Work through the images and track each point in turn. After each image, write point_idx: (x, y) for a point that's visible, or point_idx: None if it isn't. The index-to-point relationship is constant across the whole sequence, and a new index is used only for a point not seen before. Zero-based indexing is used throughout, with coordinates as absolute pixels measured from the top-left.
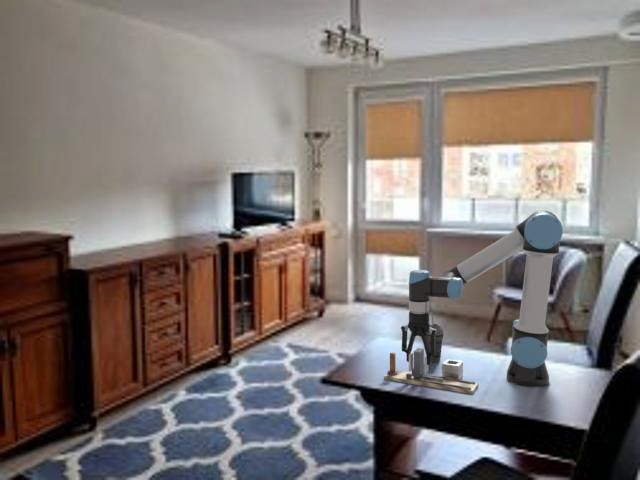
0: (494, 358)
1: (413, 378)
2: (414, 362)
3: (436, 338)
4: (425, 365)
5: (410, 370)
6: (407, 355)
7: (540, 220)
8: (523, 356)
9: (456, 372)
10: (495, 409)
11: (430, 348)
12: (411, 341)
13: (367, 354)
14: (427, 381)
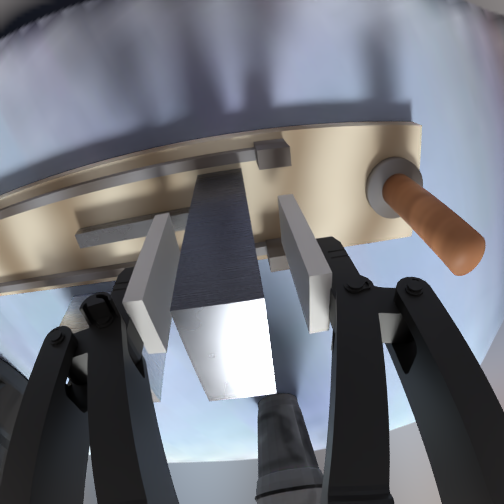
0: None
1: (235, 155)
2: (243, 222)
3: (272, 483)
4: (149, 247)
5: (279, 197)
6: (346, 271)
7: None
8: None
9: (66, 325)
10: None
11: (293, 438)
12: (349, 430)
13: (489, 323)
14: (136, 170)
